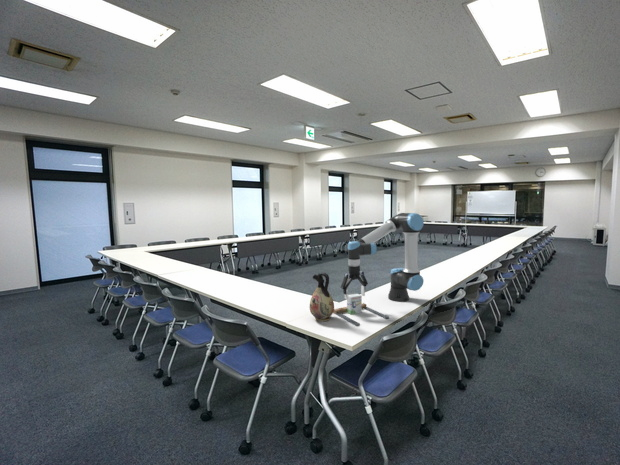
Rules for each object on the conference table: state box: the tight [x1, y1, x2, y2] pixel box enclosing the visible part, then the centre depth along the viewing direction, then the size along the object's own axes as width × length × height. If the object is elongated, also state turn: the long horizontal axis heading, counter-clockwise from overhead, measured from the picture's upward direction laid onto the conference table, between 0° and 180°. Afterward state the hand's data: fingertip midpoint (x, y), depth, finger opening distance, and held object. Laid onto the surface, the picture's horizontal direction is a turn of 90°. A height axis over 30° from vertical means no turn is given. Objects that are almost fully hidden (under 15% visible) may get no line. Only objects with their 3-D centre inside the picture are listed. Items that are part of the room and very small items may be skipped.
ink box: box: [346, 293, 363, 315], centre depth 196 cm, size 9×5×12 cm, turn 114°
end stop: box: [333, 303, 367, 315], centre depth 200 cm, size 25×3×2 cm, turn 118°
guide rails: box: [335, 306, 390, 327], centre depth 189 cm, size 25×22×1 cm
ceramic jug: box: [309, 272, 335, 322], centre depth 184 cm, size 17×15×30 cm
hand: (354, 297), depth 196 cm, fingers open, 13 cm apart
